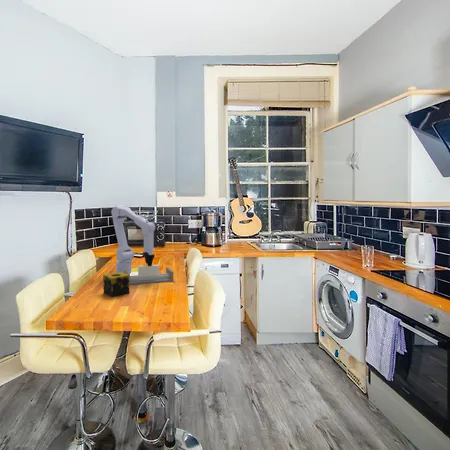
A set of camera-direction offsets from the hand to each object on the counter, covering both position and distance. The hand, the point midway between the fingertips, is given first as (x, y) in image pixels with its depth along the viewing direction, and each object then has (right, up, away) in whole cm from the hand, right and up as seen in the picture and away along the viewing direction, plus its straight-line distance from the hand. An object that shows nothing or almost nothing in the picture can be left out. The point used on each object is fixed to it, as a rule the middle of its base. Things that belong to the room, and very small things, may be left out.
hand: (148, 264), depth 203 cm
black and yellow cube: (-11, -12, -27) cm, 31 cm away
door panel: (0, -8, 0) cm, 8 cm away
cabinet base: (0, -9, 0) cm, 9 cm away
